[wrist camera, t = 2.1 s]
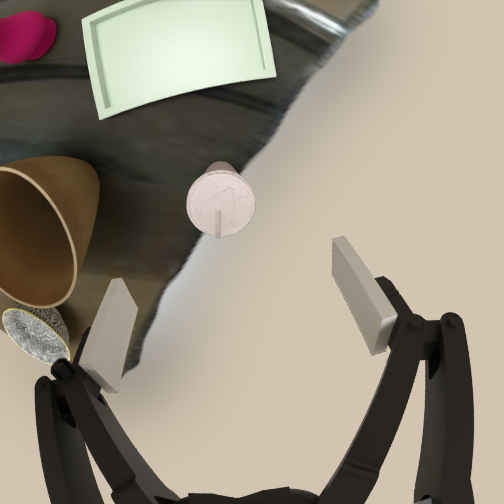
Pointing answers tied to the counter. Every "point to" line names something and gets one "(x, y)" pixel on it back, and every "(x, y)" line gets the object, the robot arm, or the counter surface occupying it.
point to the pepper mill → (25, 36)
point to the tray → (173, 49)
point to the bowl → (38, 332)
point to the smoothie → (220, 201)
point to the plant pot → (45, 227)
